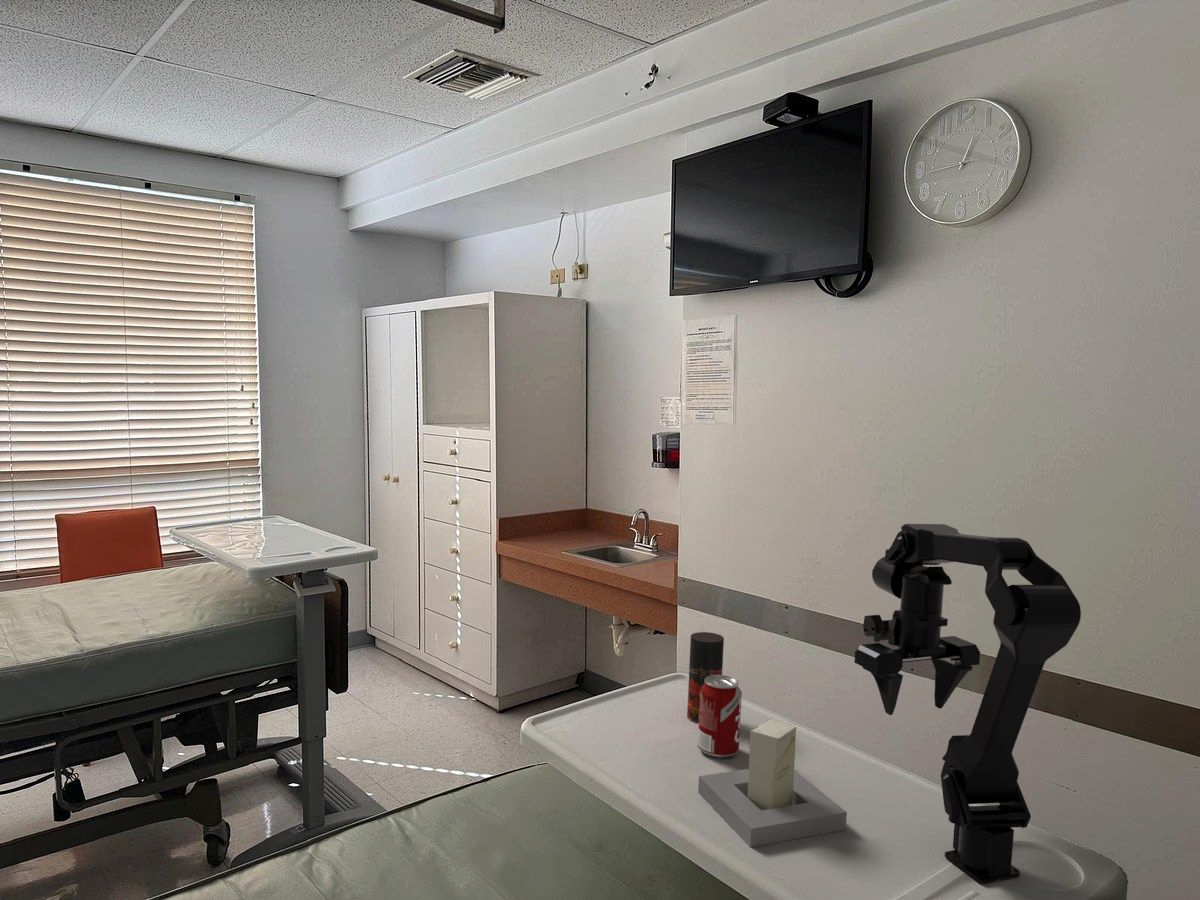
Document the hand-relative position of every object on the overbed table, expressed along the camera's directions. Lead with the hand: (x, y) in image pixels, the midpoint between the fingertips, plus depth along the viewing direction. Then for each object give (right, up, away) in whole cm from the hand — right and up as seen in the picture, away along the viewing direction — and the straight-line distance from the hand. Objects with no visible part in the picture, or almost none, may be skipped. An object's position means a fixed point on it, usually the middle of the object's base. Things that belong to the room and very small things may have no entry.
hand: (914, 710), depth 122 cm
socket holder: (-23, -13, -5) cm, 26 cm away
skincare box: (-23, -13, -5) cm, 26 cm away
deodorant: (-28, -10, +27) cm, 40 cm away
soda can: (-27, -11, +14) cm, 32 cm away
